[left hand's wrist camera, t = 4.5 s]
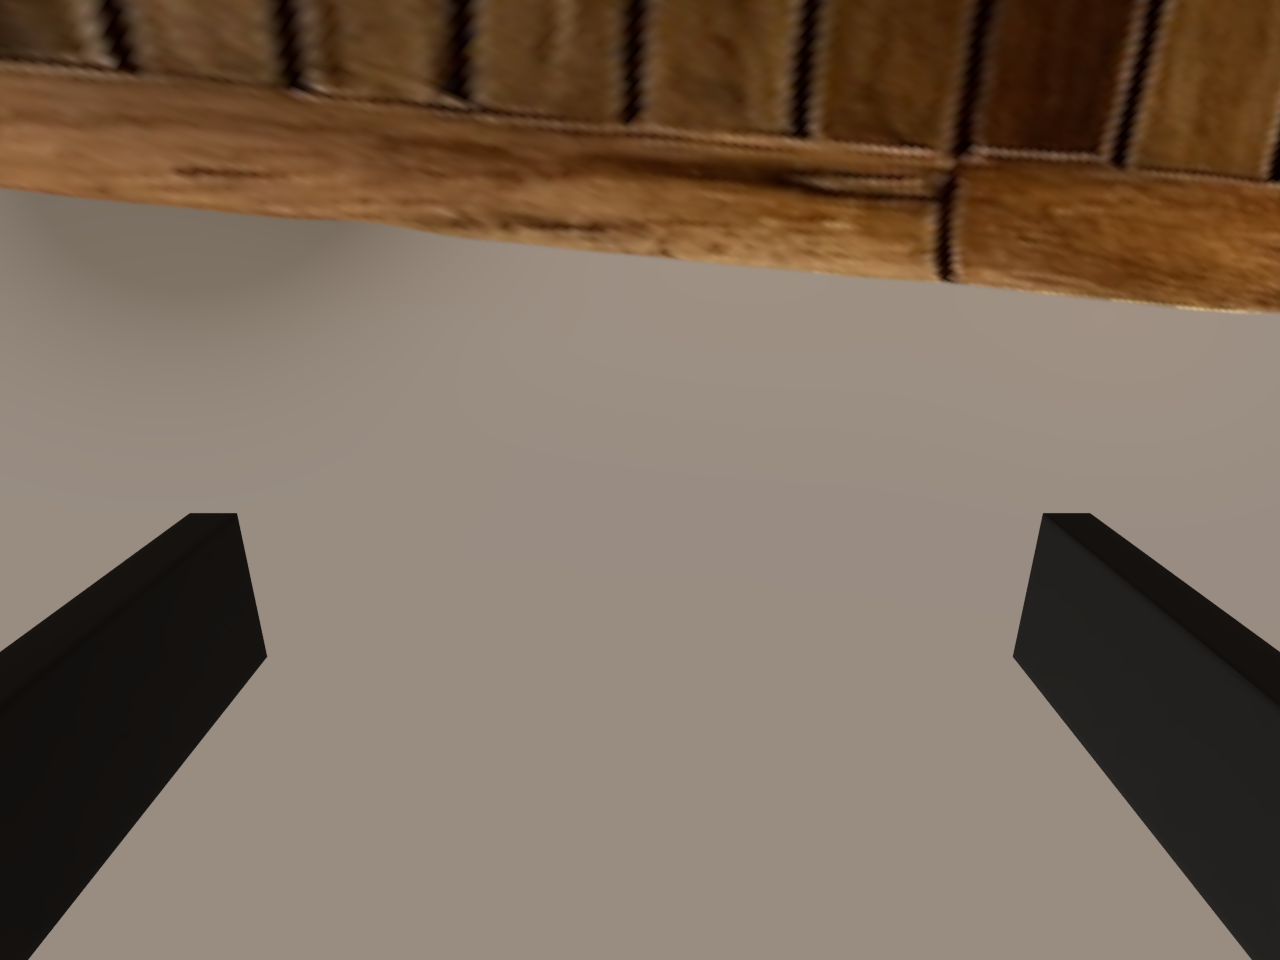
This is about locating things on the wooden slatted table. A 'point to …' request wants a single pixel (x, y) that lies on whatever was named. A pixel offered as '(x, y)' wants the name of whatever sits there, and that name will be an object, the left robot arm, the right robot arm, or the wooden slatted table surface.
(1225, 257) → the wooden slatted table surface
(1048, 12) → the wooden slatted table surface
